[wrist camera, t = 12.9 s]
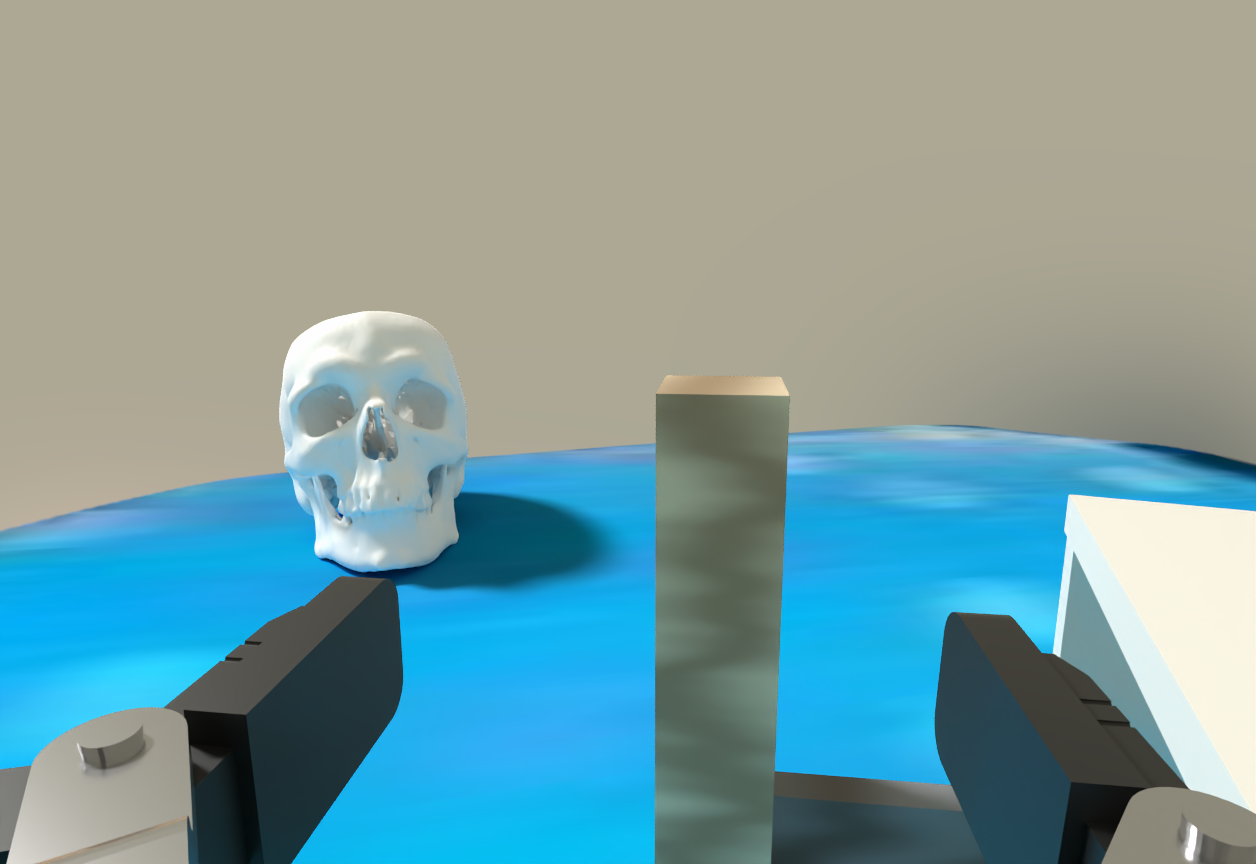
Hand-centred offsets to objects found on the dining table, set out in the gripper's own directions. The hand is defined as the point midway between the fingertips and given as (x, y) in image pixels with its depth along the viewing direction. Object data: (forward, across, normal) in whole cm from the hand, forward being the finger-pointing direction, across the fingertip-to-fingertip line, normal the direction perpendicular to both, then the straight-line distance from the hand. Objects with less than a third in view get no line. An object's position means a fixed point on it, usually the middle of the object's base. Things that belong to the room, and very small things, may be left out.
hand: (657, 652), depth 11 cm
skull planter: (+43, +24, +15) cm, 51 cm away
